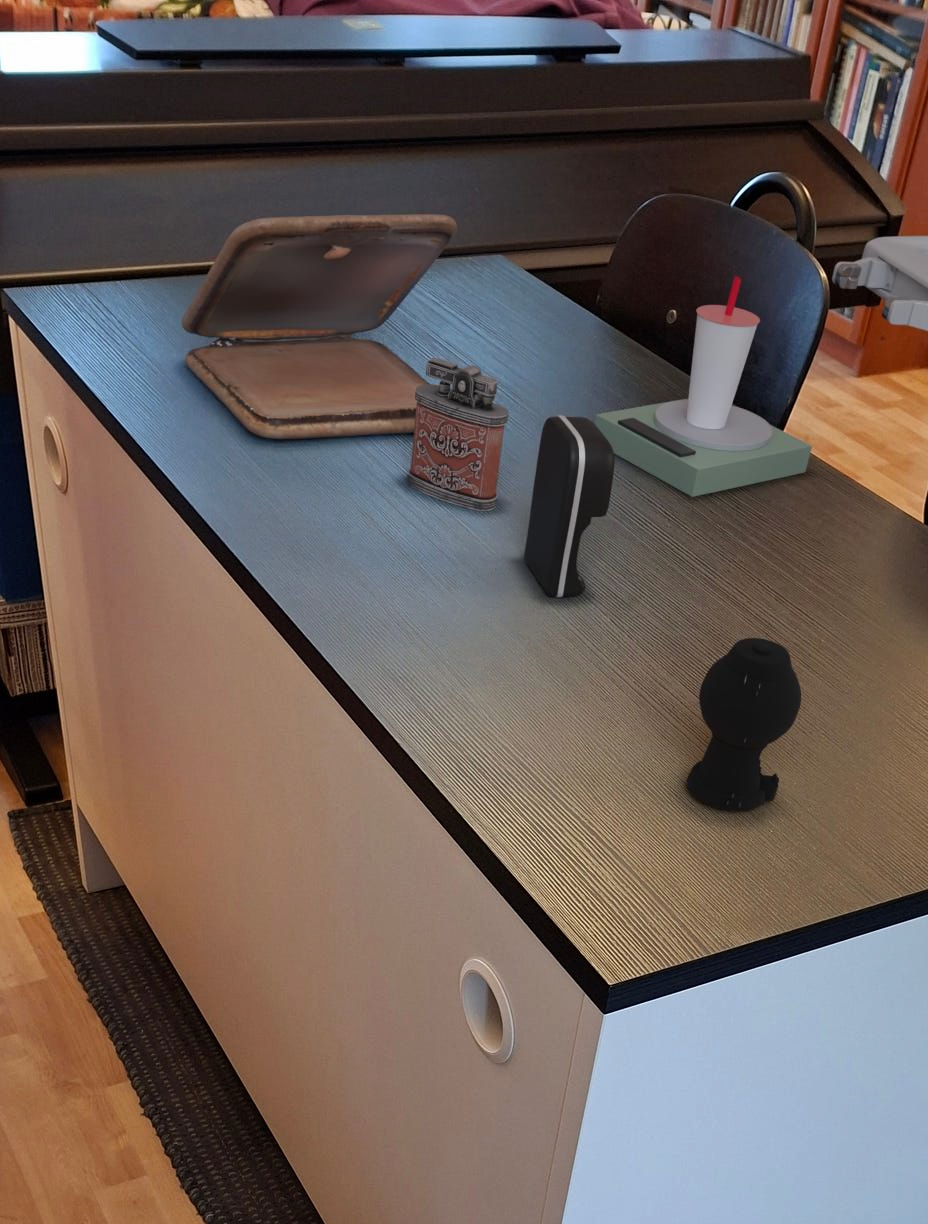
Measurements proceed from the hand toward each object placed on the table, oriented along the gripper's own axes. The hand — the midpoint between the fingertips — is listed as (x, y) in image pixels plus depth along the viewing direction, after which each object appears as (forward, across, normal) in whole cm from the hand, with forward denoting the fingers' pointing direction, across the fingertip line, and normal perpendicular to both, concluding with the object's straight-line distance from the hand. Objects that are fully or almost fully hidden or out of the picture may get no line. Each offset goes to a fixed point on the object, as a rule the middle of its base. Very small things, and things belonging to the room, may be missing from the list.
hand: (861, 292), depth 134 cm
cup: (+12, 0, -11) cm, 16 cm away
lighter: (+36, -7, -14) cm, 40 cm away
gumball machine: (+32, -53, -15) cm, 63 cm away
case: (+43, +14, -14) cm, 47 cm away
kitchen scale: (+12, 0, -14) cm, 18 cm away
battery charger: (+32, -23, -15) cm, 42 cm away
